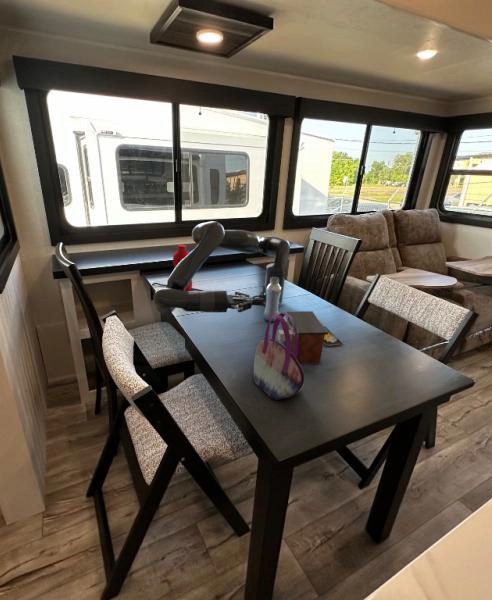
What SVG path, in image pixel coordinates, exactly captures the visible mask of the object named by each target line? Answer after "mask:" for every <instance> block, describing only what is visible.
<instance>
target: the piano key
mask: <svg viewBox="0 0 492 600" xmlns="http://www.w3.org/2000/svg"><path fill="white" fill-rule="evenodd" d="M289 334H290V339H291V341H292V338H293V332H292V331H291V330H289ZM277 338H278V342H285V341H286V338H285V335H284V332H283V329H277Z"/></svg>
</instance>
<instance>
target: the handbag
mask: <svg viewBox="0 0 492 600" xmlns="http://www.w3.org/2000/svg"><path fill="white" fill-rule="evenodd" d="M285 316H286V317H287V316H289V317H290V318H291V319H293V318H292V316H290V315H289V314H286V312H285V313H284V312H279V315H273V316H272V317H271V318H270V319H269V321H268V320H267V324H266V328H265V333H264V339H261V340H260V341H259V342H258V343H257V346H256V349H255V353H254V361H253V380H254V383H255V384H256V385H257V386H258V387H259V388H260V389H261V390H262V391H264V393H265V394H267V396H268V397H270V398H271V399H272V400H275V401H280V400H283V399H284V400H285V399H288V398H290V397H294V396H296V395H298V394H299V393H301V391H302V390H303V388H304V386H305V379H306V377H305V373H304V370H303V367H302V364H299V362H298V360H297V353H298V336H297V329H296V326H295V323H294V326H295V341H294V351H293V354H292V353H291V352H290V350H291V339H290V334H289V329H288V326H287V323H286V319H285V318H284V317H285ZM274 317H276V320H275V321H273V325H272V332H271V338H269V333H270V328H271V323H272V321H271V320H272V319H273V318H274ZM293 321H294V320H293ZM279 325H281V329H282V330H283V332H284V335H285V338H286V344H285V345H284V344H282V343H281V342H280V341H279V340H278V341H277V340H276V339H277V333H278V327H279Z"/></svg>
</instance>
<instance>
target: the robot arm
mask: <svg viewBox="0 0 492 600" xmlns="http://www.w3.org/2000/svg"><path fill="white" fill-rule="evenodd" d="M191 237H192V240H193V242H194V243H195V245H196V246H195V248H194V249H193V250H191V251H190V252H189V254H188V255H187V256H186V257H185V258H184V259H183V260H182V261H181V262H180V263H179V264H178V265H177V266H176V268H175V267H174V269H173V271H172V272H171V274H170V275H169V277H168V278H167V283H166V284H163V283H159V282H153V283H152V284H151V285H152V286H154V285H158V286H161V287H164V288H159V289H158V290H156V291H155V292H154V293H153V295H152V300H153V304H154V306H155V309H156V311H157V312H158V313H159V314H161V315H169V314H172V313H173V312H174V311H175V310H176V309H182V310H183V311H185V312H187V313H188V312H189V313H191V312H192V313H227V312H228V309H231V310H237V313H242V312H245V311H248V310H251V309H252V307H253V306H263V305H264V306H266V301H267V300H266V299H267V295H266V288H267V286H268V285H269V284H270V283H271V282H270V278H271V277H278V278H279V283H278V284H279V285H280V287H281V294H280V298H279V303H278V308H280V307H282V305H283V299H284V298H283V297H284V288H285V279H286V271H287V267H288V263H289V256H290V252H291V245H290V242H289V241H288V240H287V239H283V238H279V237H275V236H274V237H273V236H261V235H259V234H257V233H256V232H252V231H249V230H244V229H224V226H223V224H221V223H220V222H219V221H216V220H215V221H214V220H213V221H212V220H211V221H207V222H202V223H199V224H197V225H196V226H195V227H194V228H193V229H192V232H191ZM217 248H219V249H224V250H227V251H231V252H237V253H243V254H255V253H260V254H262V255H265V256H268V257H270V258H274V261H273V263H269V264H266V267H265V279H264V285H263V286H262V291H261V292H260V294H258V295H253V296H250V294H247V293H243V292H240V291H235V292H234V293H233V294H228V291H227V290H204V289H199V288H194V287H192V288H191V290H192V291H191V290H190V291H189V292H188V291H184V290H185V289H186V287H187V286H188V284H189V283H190V281H191V280H192V281H193V278H194V277H195V275H196V273H197V272H198V271H199V269H201V267H202V266H203V264H204V263H205V262H206V261H207V259H209V257H210V256H211V255H212V254H213V253H214V251H216V250H217Z"/></svg>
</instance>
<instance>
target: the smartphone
mask: <svg viewBox="0 0 492 600" xmlns="http://www.w3.org/2000/svg"><path fill="white" fill-rule="evenodd" d="M323 326H324V327H325V329H326V330H327V331H328V334H325V336H324V342H323V345H324V346H326V347H332V346H340V345H341V346H342V344H343V342H342V341H341V340H340V339H339V338H338V337H336V335H335V334H333V332H332V331H330V330H329V329H328V327H326V326H325V325H323Z"/></svg>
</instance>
